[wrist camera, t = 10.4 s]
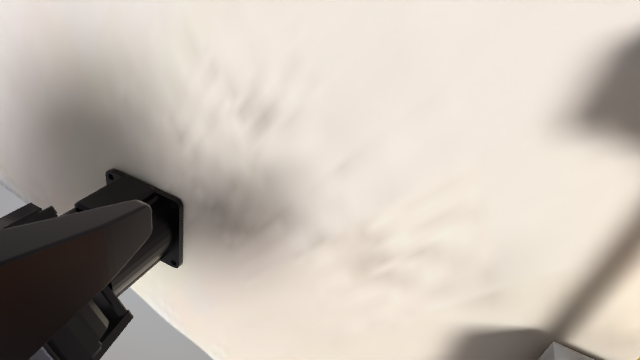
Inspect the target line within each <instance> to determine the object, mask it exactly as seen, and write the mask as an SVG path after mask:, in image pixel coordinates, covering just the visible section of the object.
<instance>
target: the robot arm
mask: <svg viewBox="0 0 640 360" xmlns="http://www.w3.org/2000/svg"><path fill="white" fill-rule="evenodd" d="M106 182H107V186H105V187H103V188H101V189H100V190H98V191H96V192H94V193H92V194H91V195H89V196H87V197H85V198H84V199H82V200H80V201H78V202H77V203H76V204H75V208H73V209H72V210H70V211H68V212H66V213H65V214H63V215H61V216H59V217H58V216H57V215H56V213H57V212H56V210H55V209H54V208H53V206H50V207H48V208H46V209H44V210H42V209H41V207H40V208H39V207H37V206H36V205H34V204H32V203H29V204H27V205H25V206H23V207H21V208H20V209H17V210H15V211H13V212H12V213H10V214H8V215H6V216H4V217H2V218H0V360H100V358H101V357H102V356H103V355H104V353H105V352H106V351H107V350H108V348H109V347H110V346H111V345H112V343H113V342H114V341H115V340H116V338H117V337H118V336H119V335H120V333H121V332H122V331H123V330H124V328H125V327H126V326H127V325H128V323H129V322H130V321H131V319H132V318H133V315H132V314H131V312H130V311H129V310H126V308H125V307H124V306H123V304H122V303H121V301H120V300H119V299H118V296H119V295H120V294H122V293H123V292H124V291H125V290H126V289H128V288H129V287H130V286H131V285H132V284H133V283H135V282H136V281H137V280H138V279H139V278H140V277H142V276H143V275H144V274H145V273H146V272H147V271H149V270H150V269H151V268H152V267H153V266H154V265H156V264H157V263H158V262H159V261H162V262H164V263H166V264H168V265H170V266H172V267H174V268H178V267H179V266H180V265H181V264H182V262H183V203H182V202H181V200H180V199H178V198H176V197H174V196H172V195H170V194H168V193H166V192H163V191H161V190H159V189H157V188H155V187H153V186H150V185H148V184H146V183H144V182H142V181H140V180H137V179H135V178H133V177H131V176H129V175H127V174H124V173H122V172H120V171H118V170H116V169H110V170H108V171H107V172H106Z"/></svg>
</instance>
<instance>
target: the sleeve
mask: <svg viewBox="0 0 640 360" xmlns="http://www.w3.org/2000/svg"><path fill="white" fill-rule="evenodd" d="M538 360H594V359H592V358H590V357H587V356H585V355H583V354H581V353H578V352H576V351H574V350H572V349H570V348H567V347H565V346H563V345H561V344H558V343H556V342H554V341H553V342H552V343H551V344H550V346H549V347H548V348H547V349H546V350H545V352H544V353H543V354H542V355H541V356H540V357H539V359H538Z"/></svg>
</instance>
